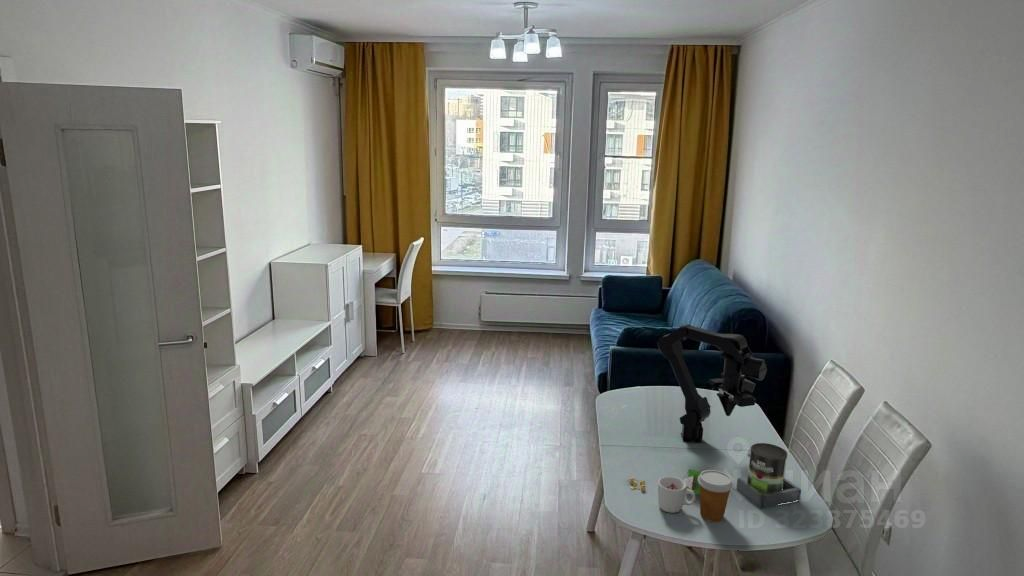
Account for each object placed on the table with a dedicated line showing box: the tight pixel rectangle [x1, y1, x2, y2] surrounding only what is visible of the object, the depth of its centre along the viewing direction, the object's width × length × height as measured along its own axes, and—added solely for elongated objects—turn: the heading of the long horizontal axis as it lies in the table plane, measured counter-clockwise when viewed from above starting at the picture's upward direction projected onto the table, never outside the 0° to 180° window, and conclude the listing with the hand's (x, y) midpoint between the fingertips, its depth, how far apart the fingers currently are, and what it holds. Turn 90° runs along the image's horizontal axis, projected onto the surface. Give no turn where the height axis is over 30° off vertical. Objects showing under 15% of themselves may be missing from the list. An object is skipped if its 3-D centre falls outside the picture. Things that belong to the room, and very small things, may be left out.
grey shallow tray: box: [735, 477, 802, 510], centre depth 200 cm, size 11×14×4 cm
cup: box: [657, 476, 697, 514], centre depth 191 cm, size 11×8×8 cm
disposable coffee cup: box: [698, 469, 734, 523], centre depth 188 cm, size 10×10×12 cm
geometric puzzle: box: [682, 468, 702, 496], centre depth 202 cm, size 7×7×8 cm
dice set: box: [629, 477, 646, 492], centre depth 204 cm, size 5×5×2 cm
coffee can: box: [746, 442, 788, 494], centre depth 201 cm, size 10×10×14 cm
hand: (728, 415), depth 226 cm, fingers closed
